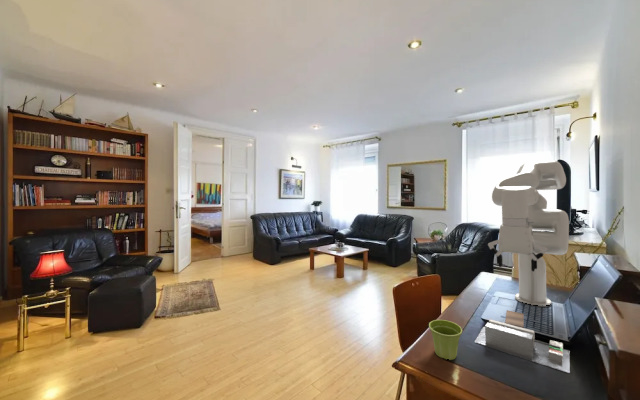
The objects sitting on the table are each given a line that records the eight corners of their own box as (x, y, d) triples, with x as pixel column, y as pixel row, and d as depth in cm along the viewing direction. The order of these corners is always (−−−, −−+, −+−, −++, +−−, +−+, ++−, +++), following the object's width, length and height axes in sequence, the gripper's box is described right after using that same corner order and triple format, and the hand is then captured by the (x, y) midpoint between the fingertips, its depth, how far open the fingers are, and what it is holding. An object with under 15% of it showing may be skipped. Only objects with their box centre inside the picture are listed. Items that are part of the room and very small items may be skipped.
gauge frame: (483, 327, 96) (483, 310, 96) (569, 351, 80) (569, 331, 80) (474, 342, 87) (474, 324, 87) (569, 373, 71) (569, 351, 71)
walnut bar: (506, 323, 98) (506, 310, 98) (523, 327, 95) (523, 313, 95) (505, 337, 89) (505, 322, 89) (523, 342, 86) (523, 326, 86)
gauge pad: (490, 333, 91) (490, 319, 91) (560, 354, 78) (560, 337, 78) (489, 335, 90) (489, 320, 90) (560, 356, 77) (560, 339, 77)
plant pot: (470, 361, 77) (469, 333, 77) (441, 366, 76) (440, 337, 76) (449, 343, 87) (448, 318, 86) (423, 347, 85) (422, 321, 85)
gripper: (547, 221, 91) (548, 269, 92) (489, 219, 103) (490, 261, 104) (545, 225, 86) (546, 275, 87) (484, 222, 98) (486, 267, 99)
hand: (516, 268), depth 96 cm, fingers open, 9 cm apart
